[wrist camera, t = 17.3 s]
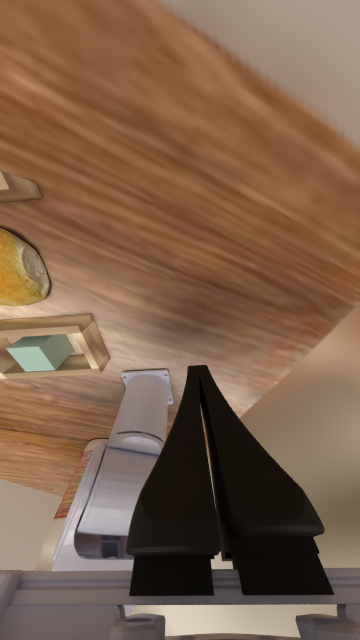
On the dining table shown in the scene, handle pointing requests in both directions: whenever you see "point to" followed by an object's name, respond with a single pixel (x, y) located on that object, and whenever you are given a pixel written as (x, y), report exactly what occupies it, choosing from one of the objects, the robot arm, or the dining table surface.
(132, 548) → the robot arm
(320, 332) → the dining table surface
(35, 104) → the dining table surface
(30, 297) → the bread roll
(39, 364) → the teal block
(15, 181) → the organiser frame
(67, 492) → the fruit juice
